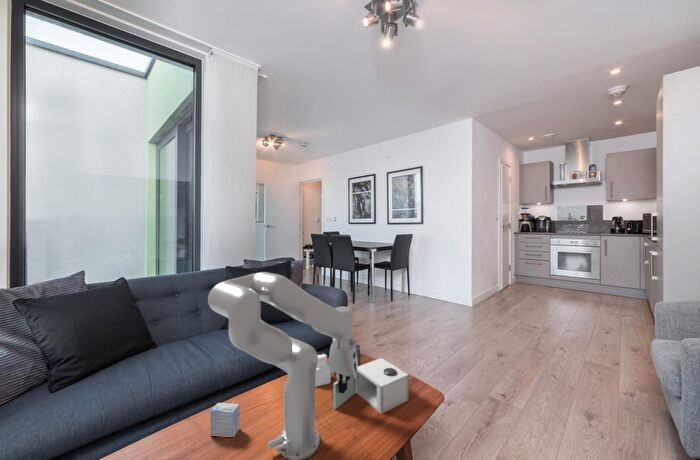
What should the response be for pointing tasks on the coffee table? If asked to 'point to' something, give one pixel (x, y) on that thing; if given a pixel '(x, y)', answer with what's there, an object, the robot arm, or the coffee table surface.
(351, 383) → the side door
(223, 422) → the medicine box
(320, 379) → the white square bottle
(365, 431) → the coffee table surface
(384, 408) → the white cabinet
